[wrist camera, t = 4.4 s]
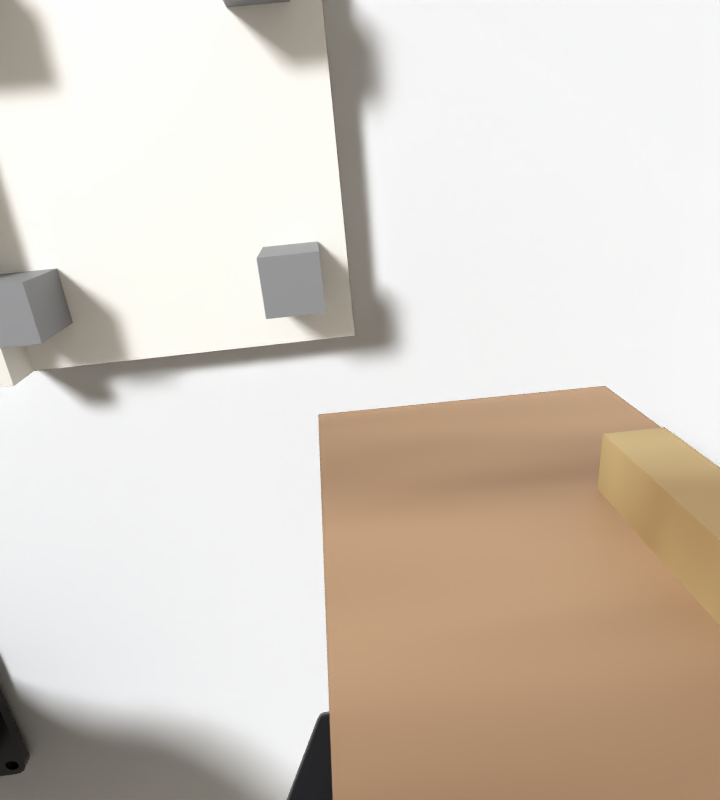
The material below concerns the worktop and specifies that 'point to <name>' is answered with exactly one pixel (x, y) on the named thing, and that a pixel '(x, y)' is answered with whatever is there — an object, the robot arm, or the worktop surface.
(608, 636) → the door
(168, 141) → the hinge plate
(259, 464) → the worktop surface
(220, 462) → the worktop surface
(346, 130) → the worktop surface
